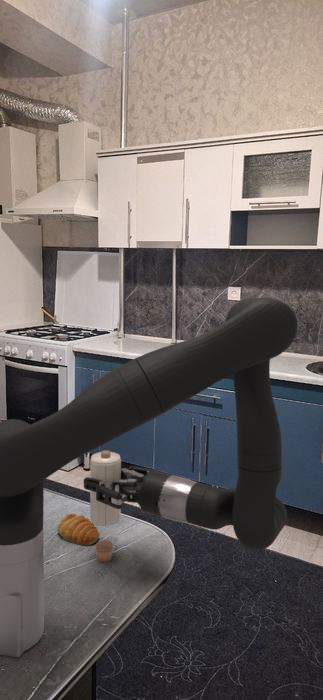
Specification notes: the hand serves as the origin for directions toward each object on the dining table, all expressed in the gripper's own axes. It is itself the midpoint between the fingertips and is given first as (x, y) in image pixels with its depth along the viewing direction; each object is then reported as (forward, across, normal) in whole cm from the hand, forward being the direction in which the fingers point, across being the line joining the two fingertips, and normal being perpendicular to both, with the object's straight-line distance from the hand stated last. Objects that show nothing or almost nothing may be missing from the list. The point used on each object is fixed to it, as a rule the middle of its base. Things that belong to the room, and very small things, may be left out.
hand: (95, 477), depth 97 cm
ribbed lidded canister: (-2, 0, +8) cm, 8 cm away
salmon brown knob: (-2, 0, +16) cm, 16 cm away
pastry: (+7, -4, +17) cm, 19 cm away
